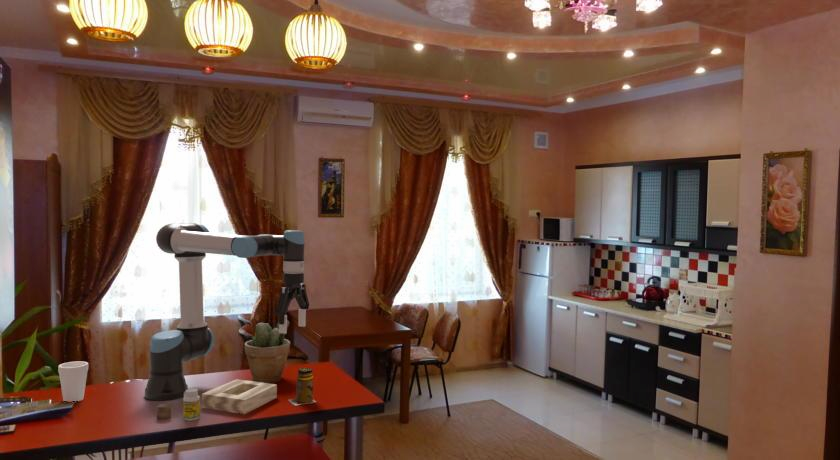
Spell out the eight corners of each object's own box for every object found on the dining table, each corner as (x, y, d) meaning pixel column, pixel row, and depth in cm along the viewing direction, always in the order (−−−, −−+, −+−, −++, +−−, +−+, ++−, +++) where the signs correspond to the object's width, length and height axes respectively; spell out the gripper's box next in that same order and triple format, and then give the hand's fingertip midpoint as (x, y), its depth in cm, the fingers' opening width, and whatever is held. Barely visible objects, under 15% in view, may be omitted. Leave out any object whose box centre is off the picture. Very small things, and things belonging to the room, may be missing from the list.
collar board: (201, 407, 215) (201, 393, 215) (236, 391, 234) (236, 379, 234) (244, 414, 209) (244, 400, 209) (276, 397, 228) (276, 384, 228)
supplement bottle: (201, 415, 208) (201, 387, 207) (199, 420, 203) (199, 392, 202) (184, 416, 207) (184, 388, 206) (181, 421, 201) (182, 393, 201)
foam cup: (72, 394, 227) (72, 360, 226) (93, 397, 225) (94, 362, 224) (52, 402, 217) (52, 367, 217) (74, 405, 215) (74, 368, 215)
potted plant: (265, 388, 239) (266, 326, 238) (234, 380, 249) (234, 320, 248) (298, 378, 254) (299, 319, 253) (267, 371, 265) (268, 314, 264)
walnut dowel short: (153, 418, 203) (153, 407, 203) (163, 414, 208) (163, 403, 207) (164, 420, 202) (164, 408, 202) (173, 416, 206) (173, 404, 206)
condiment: (316, 402, 224) (317, 370, 223) (295, 406, 219) (295, 373, 219) (309, 397, 230) (309, 365, 230) (287, 400, 225) (288, 368, 225)
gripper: (284, 276, 209) (283, 337, 210) (318, 269, 233) (317, 324, 234) (265, 275, 212) (264, 335, 213) (301, 268, 235) (300, 322, 236)
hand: (292, 329), depth 223 cm, fingers open, 13 cm apart
